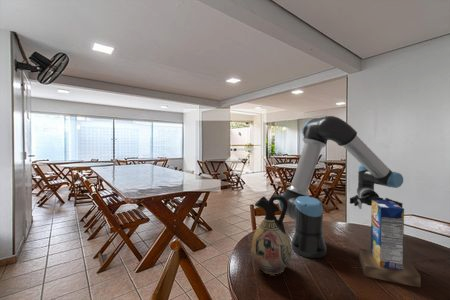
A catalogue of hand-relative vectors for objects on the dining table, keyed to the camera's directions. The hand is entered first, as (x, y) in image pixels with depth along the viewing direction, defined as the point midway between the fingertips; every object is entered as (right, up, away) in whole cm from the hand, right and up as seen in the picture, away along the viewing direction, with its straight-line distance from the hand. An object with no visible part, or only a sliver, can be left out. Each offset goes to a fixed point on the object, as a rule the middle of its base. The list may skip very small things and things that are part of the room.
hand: (379, 207), depth 92 cm
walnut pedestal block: (-4, -22, -10) cm, 24 cm away
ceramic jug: (-47, -22, -8) cm, 53 cm away
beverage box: (-5, -18, -10) cm, 21 cm away
